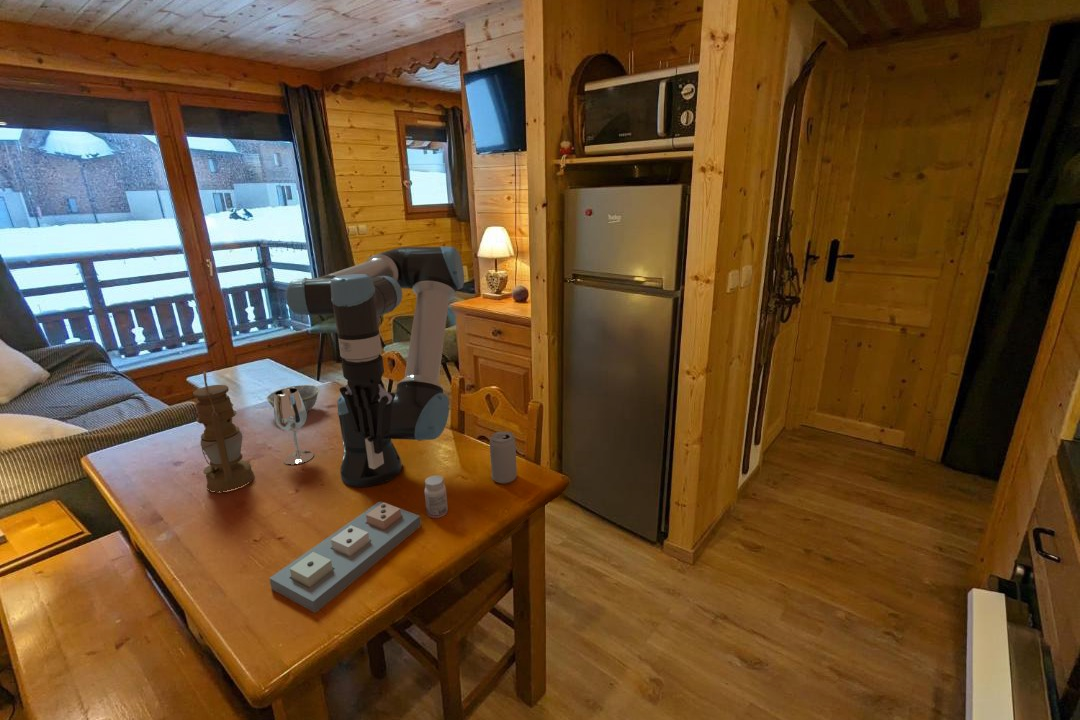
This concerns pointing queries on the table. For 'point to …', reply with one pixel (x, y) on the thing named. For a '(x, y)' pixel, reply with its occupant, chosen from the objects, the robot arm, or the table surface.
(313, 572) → the key one
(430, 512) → the pill bottle
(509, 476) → the beverage can
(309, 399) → the bowl
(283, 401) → the wineglass
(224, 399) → the lantern
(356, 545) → the key two
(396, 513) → the key three
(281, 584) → the key board
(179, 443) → the table surface
